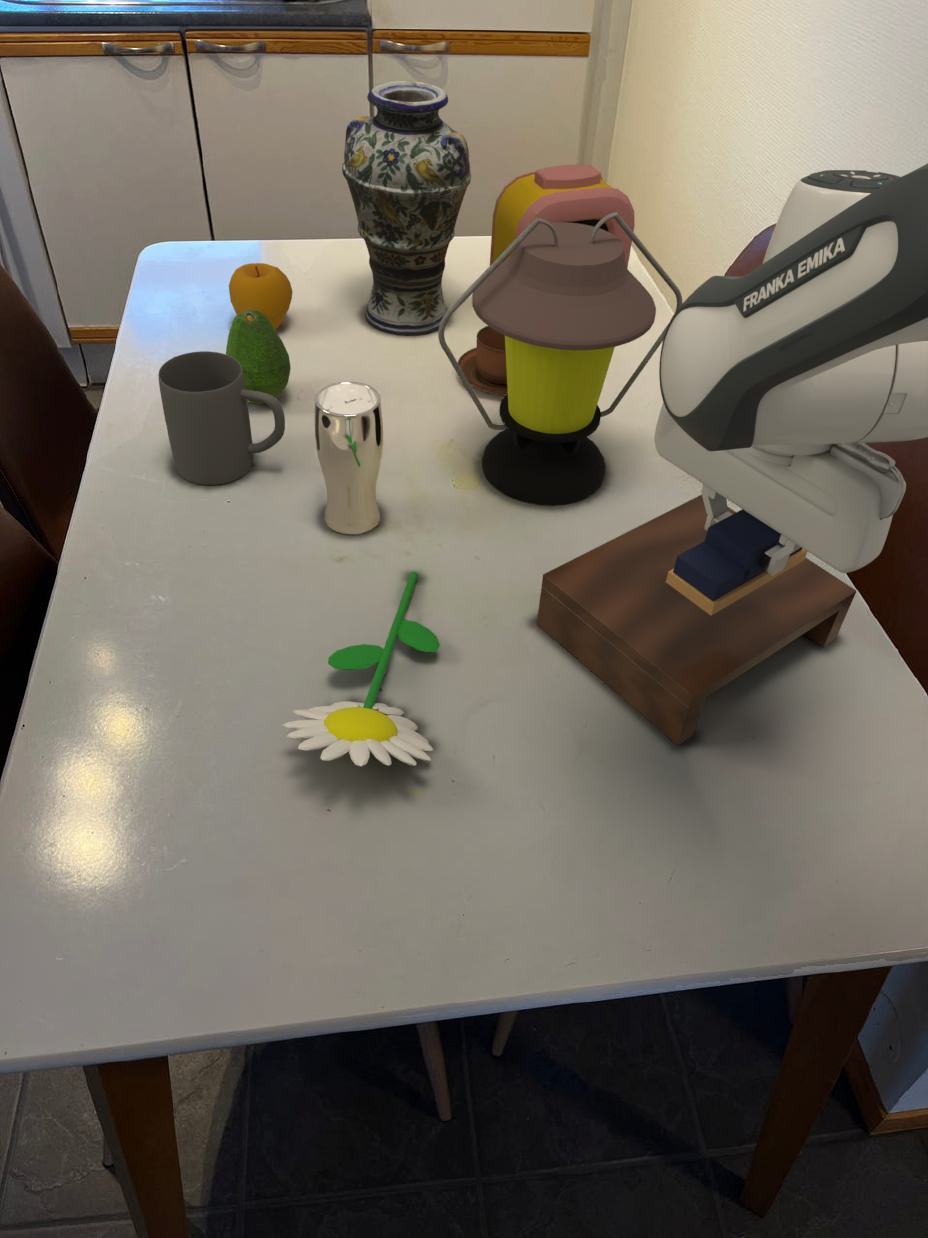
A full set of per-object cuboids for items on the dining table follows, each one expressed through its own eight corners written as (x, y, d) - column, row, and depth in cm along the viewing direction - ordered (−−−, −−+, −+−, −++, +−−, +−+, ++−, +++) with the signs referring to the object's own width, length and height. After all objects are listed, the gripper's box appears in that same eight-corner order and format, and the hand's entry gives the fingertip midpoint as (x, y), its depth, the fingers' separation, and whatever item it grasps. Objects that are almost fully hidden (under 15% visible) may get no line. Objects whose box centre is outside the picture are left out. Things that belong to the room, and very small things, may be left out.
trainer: (758, 530, 86) (775, 478, 82) (804, 560, 83) (824, 508, 79) (665, 582, 80) (678, 528, 76) (711, 616, 77) (727, 562, 73)
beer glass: (311, 531, 105) (302, 410, 94) (332, 494, 110) (325, 375, 99) (374, 542, 104) (371, 421, 93) (391, 504, 109) (391, 386, 98)
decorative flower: (352, 586, 102) (263, 791, 77) (355, 547, 99) (263, 747, 75) (471, 608, 101) (418, 822, 77) (477, 570, 98) (424, 779, 74)
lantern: (650, 438, 121) (702, 191, 100) (648, 531, 107) (708, 268, 87) (455, 413, 123) (467, 167, 102) (428, 502, 109) (435, 238, 89)
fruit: (217, 402, 122) (204, 313, 114) (259, 377, 127) (250, 290, 119) (264, 423, 119) (254, 333, 111) (306, 397, 124) (299, 308, 116)
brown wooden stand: (835, 639, 96) (857, 590, 92) (677, 746, 85) (693, 696, 81) (693, 540, 107) (705, 492, 102) (536, 623, 96) (542, 574, 91)
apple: (296, 313, 141) (292, 253, 135) (292, 341, 135) (287, 280, 129) (237, 312, 140) (230, 252, 134) (230, 340, 134) (222, 279, 128)
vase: (369, 282, 149) (364, 65, 129) (477, 300, 147) (489, 81, 126) (330, 330, 138) (318, 100, 117) (447, 351, 135) (455, 118, 114)
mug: (161, 480, 110) (142, 386, 102) (192, 437, 117) (177, 345, 108) (276, 498, 109) (266, 404, 100) (301, 453, 115) (294, 362, 107)
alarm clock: (512, 328, 141) (523, 191, 127) (483, 295, 148) (491, 162, 135) (624, 311, 146) (646, 178, 133) (591, 281, 153) (609, 151, 140)
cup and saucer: (470, 351, 135) (472, 309, 131) (554, 366, 133) (559, 324, 129) (446, 393, 127) (447, 349, 122) (535, 409, 125) (540, 366, 120)
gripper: (940, 455, 66) (872, 604, 76) (713, 335, 77) (678, 478, 87) (886, 486, 63) (822, 637, 73) (658, 356, 74) (629, 502, 84)
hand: (742, 549), depth 80 cm, fingers closed on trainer, 4 cm apart
